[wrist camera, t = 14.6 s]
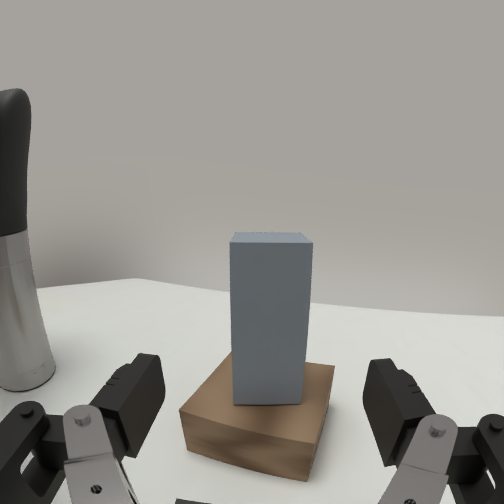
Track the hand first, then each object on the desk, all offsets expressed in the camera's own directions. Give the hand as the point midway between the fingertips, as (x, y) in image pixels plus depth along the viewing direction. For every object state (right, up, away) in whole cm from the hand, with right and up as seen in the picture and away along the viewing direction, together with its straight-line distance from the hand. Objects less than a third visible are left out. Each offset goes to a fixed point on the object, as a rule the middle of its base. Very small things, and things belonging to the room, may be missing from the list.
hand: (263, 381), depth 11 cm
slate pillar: (+1, -6, +12) cm, 14 cm away
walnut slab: (+1, -11, +13) cm, 17 cm away
